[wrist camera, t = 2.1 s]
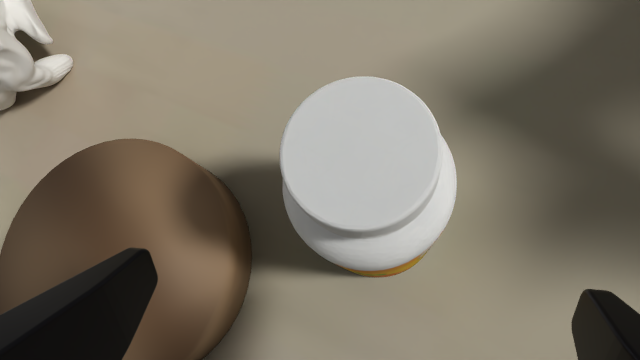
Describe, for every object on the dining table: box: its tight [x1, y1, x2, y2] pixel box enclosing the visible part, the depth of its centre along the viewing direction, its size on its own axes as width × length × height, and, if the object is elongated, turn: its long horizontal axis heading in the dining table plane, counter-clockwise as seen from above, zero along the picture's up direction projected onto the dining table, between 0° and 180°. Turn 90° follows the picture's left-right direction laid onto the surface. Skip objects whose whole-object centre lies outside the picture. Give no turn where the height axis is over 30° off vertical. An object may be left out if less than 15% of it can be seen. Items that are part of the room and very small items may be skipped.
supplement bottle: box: [280, 76, 457, 277], centre depth 14 cm, size 5×5×10 cm
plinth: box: [0, 139, 252, 360], centre depth 19 cm, size 11×11×3 cm
